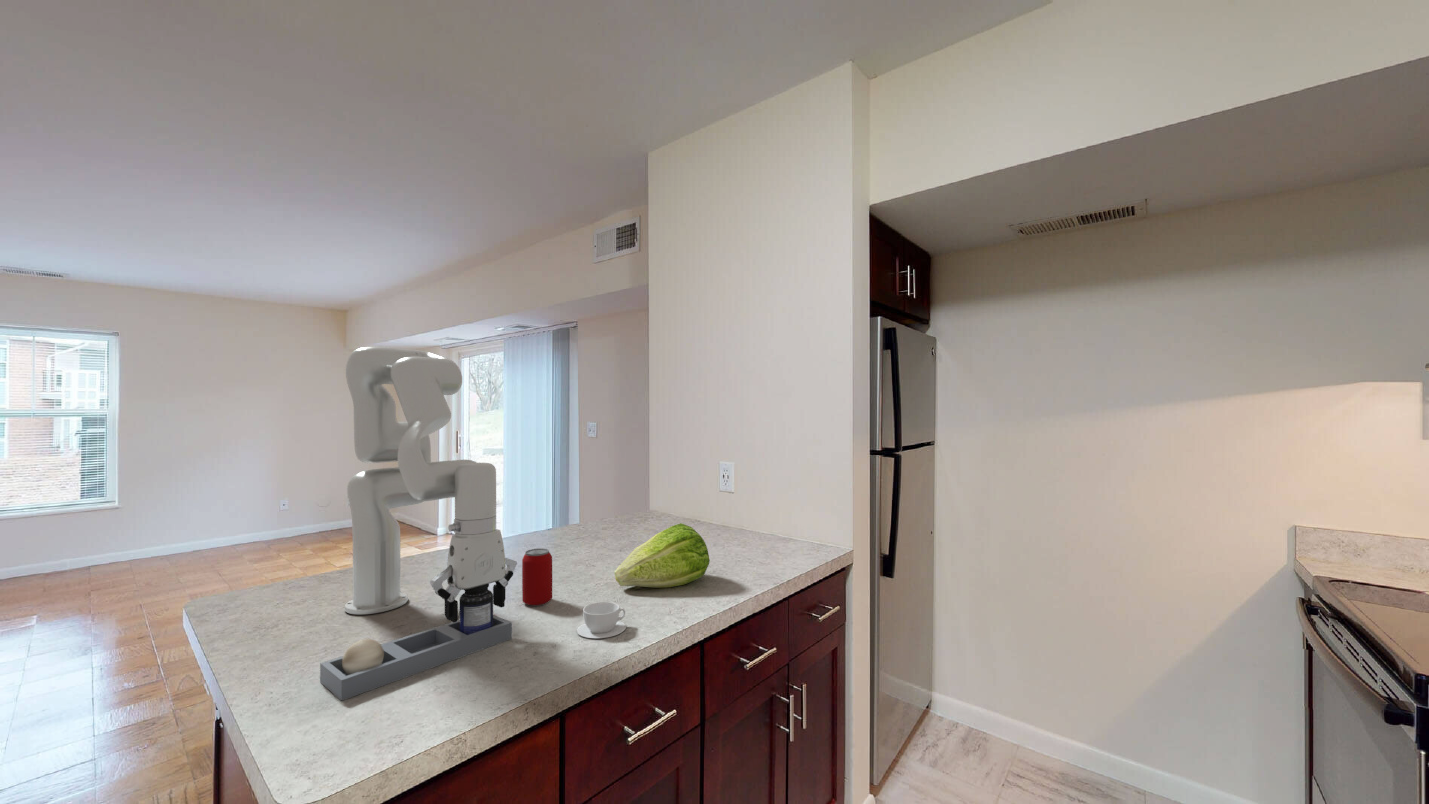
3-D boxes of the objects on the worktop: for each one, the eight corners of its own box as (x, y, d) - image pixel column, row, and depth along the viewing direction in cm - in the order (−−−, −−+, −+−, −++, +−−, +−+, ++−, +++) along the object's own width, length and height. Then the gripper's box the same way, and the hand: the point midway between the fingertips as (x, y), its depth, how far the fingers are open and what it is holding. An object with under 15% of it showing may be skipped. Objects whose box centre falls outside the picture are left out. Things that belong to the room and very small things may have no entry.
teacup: (584, 644, 109) (583, 620, 109) (571, 626, 117) (571, 604, 117) (633, 634, 113) (632, 611, 113) (617, 618, 122) (617, 596, 122)
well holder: (320, 682, 94) (320, 663, 94) (486, 626, 117) (486, 611, 117) (341, 700, 88) (341, 680, 88) (511, 638, 111) (511, 622, 111)
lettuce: (637, 619, 133) (621, 606, 148) (722, 570, 143) (700, 563, 158) (613, 562, 133) (600, 555, 147) (701, 517, 143) (680, 515, 157)
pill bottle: (466, 631, 113) (465, 576, 113) (497, 629, 114) (497, 575, 114) (454, 644, 107) (454, 586, 107) (487, 642, 108) (487, 585, 108)
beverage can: (556, 597, 135) (556, 547, 135) (545, 607, 128) (545, 555, 128) (529, 597, 135) (529, 547, 135) (517, 607, 128) (517, 554, 129)
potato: (336, 677, 94) (336, 641, 94) (375, 664, 99) (375, 630, 99) (350, 688, 90) (350, 651, 90) (390, 674, 95) (390, 639, 95)
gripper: (441, 536, 101) (441, 631, 101) (525, 521, 115) (525, 604, 115) (422, 531, 106) (422, 621, 106) (505, 516, 120) (505, 597, 119)
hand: (476, 612), depth 110 cm, fingers open, 9 cm apart
